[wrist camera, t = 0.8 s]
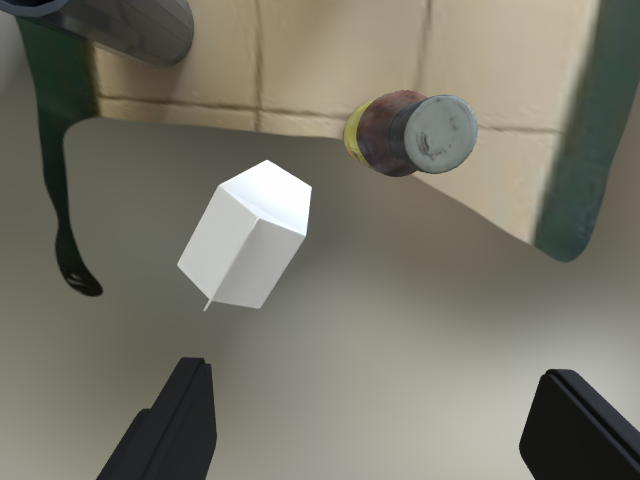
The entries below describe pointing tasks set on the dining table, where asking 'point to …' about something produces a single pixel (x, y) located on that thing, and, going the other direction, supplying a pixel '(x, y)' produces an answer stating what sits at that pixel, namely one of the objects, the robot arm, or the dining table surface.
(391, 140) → the sauce bottle
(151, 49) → the dark blue cylindrical vase
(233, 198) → the milk
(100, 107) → the dining table surface
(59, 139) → the dining table surface
